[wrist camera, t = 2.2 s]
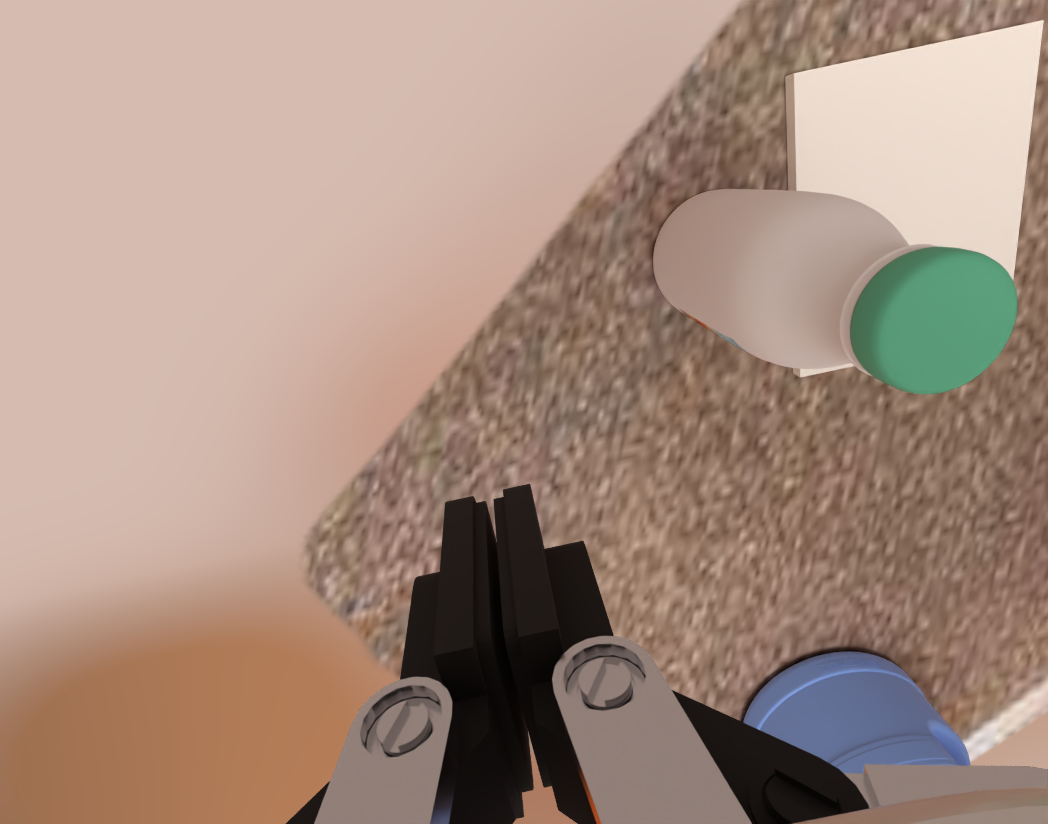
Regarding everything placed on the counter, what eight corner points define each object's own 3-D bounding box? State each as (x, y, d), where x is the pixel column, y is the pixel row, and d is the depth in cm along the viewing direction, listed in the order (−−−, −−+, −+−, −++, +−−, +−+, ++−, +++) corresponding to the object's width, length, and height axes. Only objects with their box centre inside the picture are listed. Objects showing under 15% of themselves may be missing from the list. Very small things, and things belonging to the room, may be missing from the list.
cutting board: (1027, 24, 33) (1043, 20, 32) (994, 330, 40) (1007, 333, 39) (785, 76, 33) (794, 73, 32) (792, 372, 40) (800, 377, 39)
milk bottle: (625, 277, 37) (777, 373, 18) (698, 162, 35) (956, 137, 16) (720, 337, 39) (947, 479, 20) (796, 232, 36) (1127, 282, 18)
